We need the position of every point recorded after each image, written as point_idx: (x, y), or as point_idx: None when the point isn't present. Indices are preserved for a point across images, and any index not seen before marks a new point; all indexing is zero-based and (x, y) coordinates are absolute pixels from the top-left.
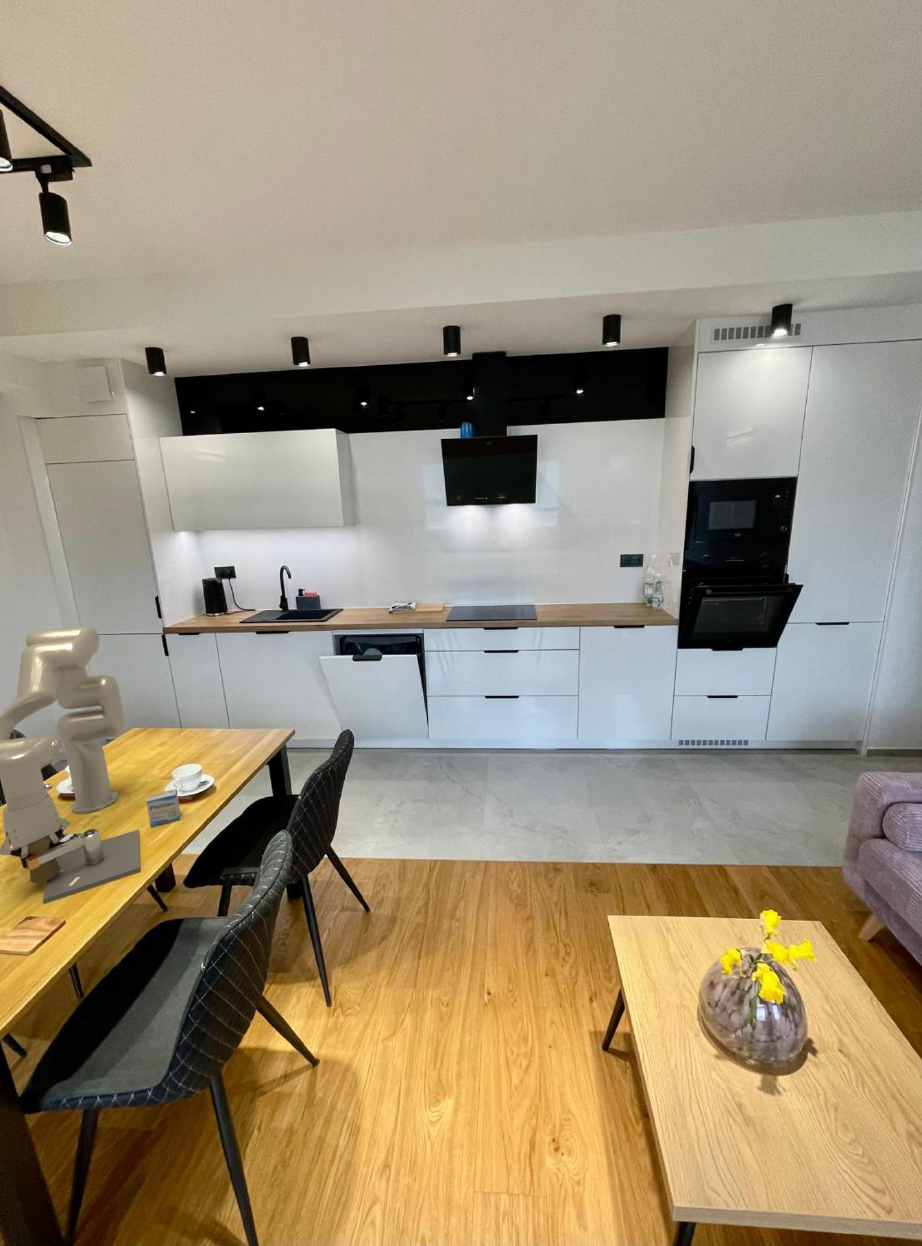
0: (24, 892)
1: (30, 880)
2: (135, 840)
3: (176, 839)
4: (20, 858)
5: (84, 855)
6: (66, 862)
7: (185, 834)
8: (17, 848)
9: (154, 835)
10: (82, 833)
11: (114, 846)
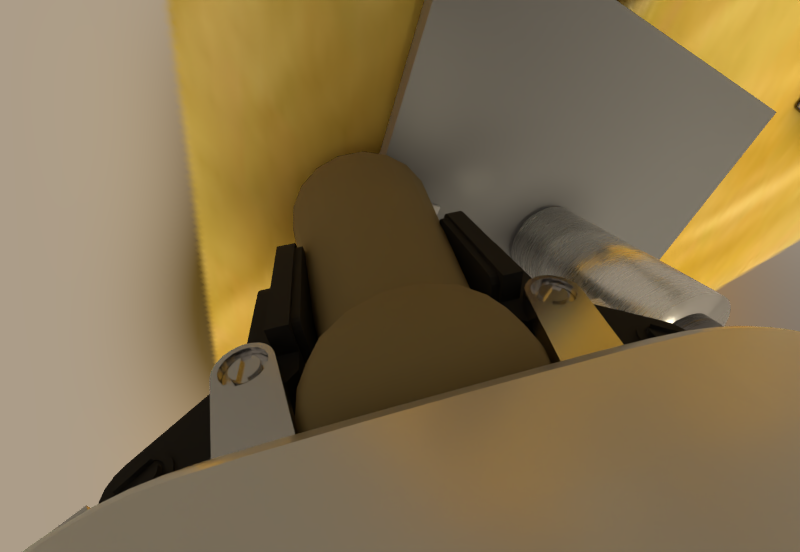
0: (259, 203)
1: (294, 231)
2: (691, 205)
3: (711, 276)
4: (248, 339)
5: (540, 267)
6: (473, 130)
7: (738, 269)
8: (215, 438)
9: (733, 189)
10: (672, 310)
11: (641, 180)
